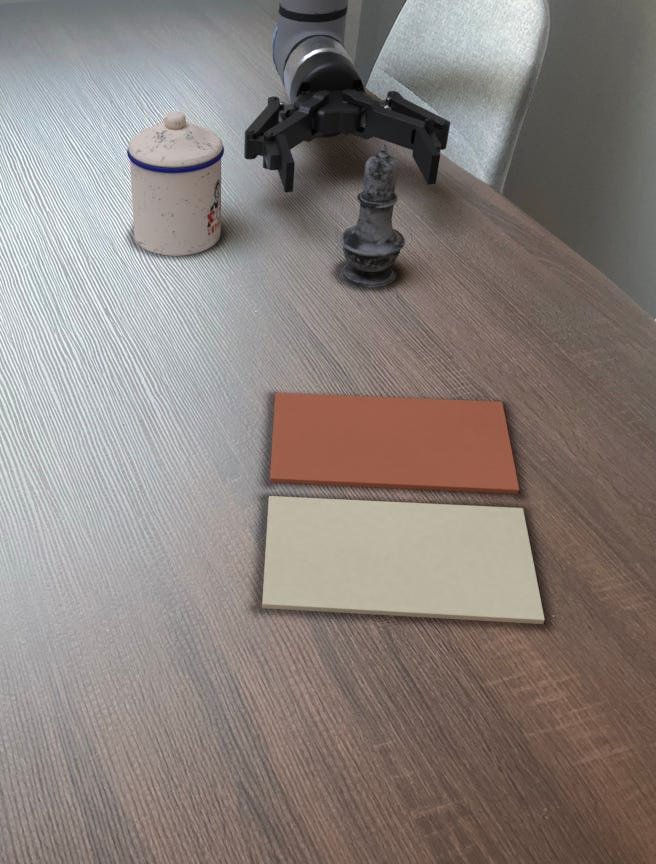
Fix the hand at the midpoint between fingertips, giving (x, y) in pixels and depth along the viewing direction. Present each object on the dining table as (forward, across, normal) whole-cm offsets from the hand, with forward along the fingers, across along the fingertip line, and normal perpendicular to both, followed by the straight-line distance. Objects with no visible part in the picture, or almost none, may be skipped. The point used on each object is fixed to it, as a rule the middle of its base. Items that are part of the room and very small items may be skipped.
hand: (362, 174), depth 96 cm
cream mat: (+45, +6, -7) cm, 46 cm away
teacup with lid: (-5, +17, -7) cm, 19 cm away
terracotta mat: (+32, +3, -7) cm, 33 cm away
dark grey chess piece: (+7, 0, -7) cm, 9 cm away
